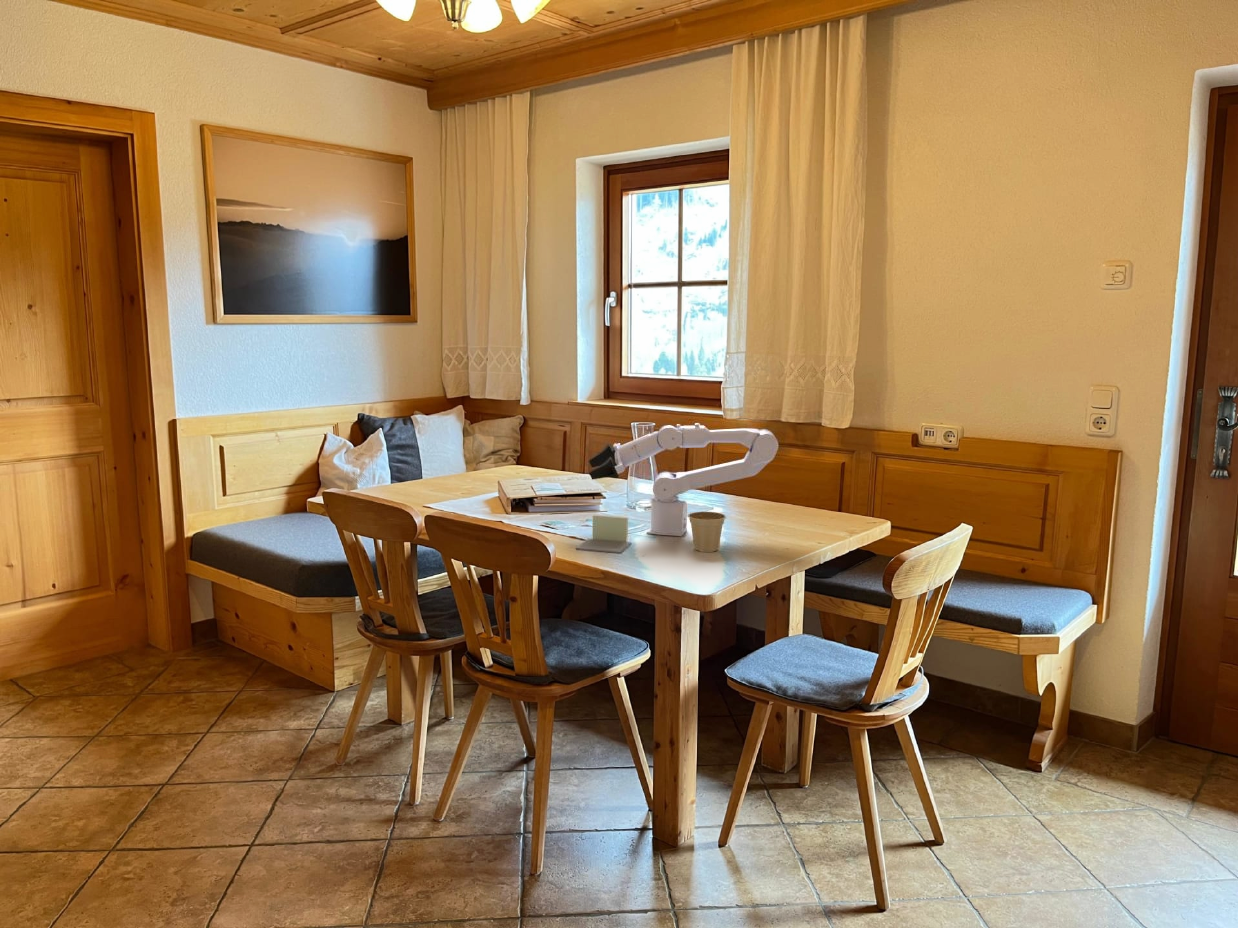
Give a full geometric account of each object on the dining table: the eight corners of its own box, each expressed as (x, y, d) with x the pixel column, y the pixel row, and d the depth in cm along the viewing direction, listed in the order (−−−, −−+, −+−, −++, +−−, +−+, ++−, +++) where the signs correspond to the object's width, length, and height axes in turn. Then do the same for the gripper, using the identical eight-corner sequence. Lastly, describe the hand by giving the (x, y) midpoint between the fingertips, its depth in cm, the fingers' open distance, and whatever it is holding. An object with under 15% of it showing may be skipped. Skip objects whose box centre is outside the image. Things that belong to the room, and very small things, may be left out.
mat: (631, 543, 236) (631, 542, 236) (620, 553, 227) (620, 551, 227) (588, 540, 239) (588, 538, 239) (576, 549, 230) (576, 547, 230)
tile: (627, 541, 238) (628, 517, 237) (626, 543, 237) (626, 518, 236) (594, 538, 241) (594, 514, 240) (592, 540, 239) (592, 515, 238)
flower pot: (698, 555, 226) (699, 521, 225) (680, 546, 235) (681, 513, 233) (731, 552, 230) (733, 518, 228) (713, 543, 238) (714, 510, 237)
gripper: (629, 427, 251) (584, 446, 253) (632, 448, 238) (584, 469, 240) (640, 448, 254) (594, 467, 256) (643, 471, 241) (595, 491, 243)
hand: (590, 469), depth 248 cm, fingers open, 7 cm apart
